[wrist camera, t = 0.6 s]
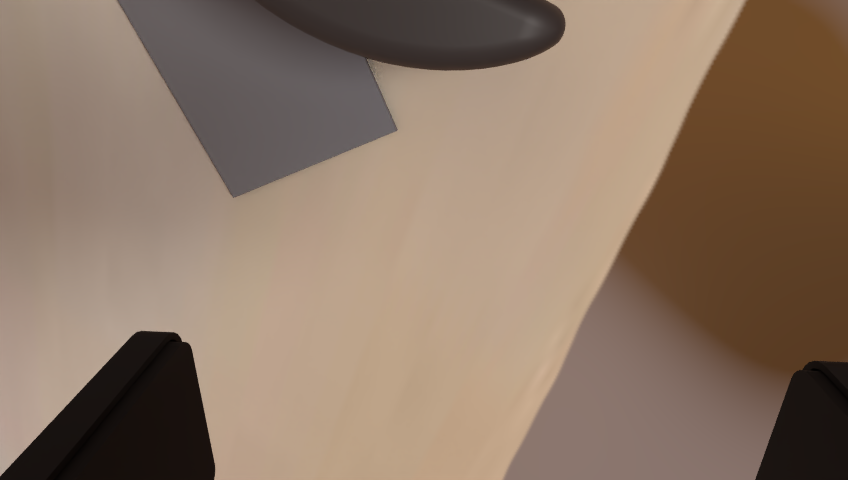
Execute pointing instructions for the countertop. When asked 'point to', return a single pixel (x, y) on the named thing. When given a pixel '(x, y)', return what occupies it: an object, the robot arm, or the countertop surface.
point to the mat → (259, 87)
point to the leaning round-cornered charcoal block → (429, 29)
